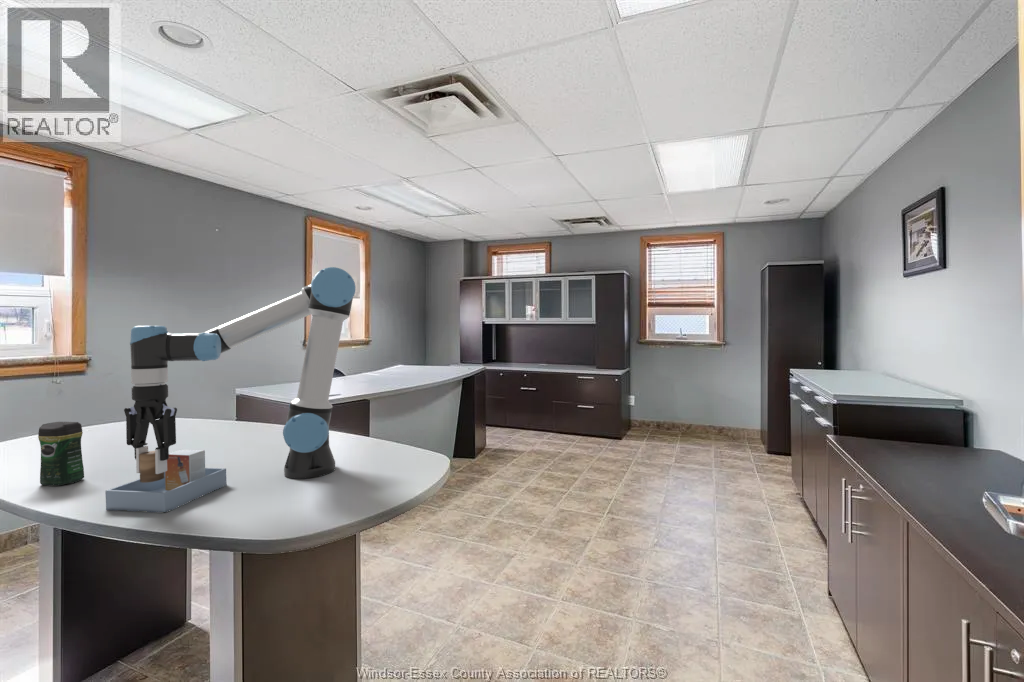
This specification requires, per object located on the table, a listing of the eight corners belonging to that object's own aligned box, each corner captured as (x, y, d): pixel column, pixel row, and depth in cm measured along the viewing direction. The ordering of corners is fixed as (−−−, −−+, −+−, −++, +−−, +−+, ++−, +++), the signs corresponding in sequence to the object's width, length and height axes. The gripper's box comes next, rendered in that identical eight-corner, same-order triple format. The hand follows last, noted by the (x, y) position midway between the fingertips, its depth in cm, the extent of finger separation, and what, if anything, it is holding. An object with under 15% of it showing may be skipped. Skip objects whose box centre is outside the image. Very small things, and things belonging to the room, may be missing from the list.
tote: (226, 485, 134) (226, 468, 133) (165, 513, 114) (164, 493, 113) (174, 483, 136) (174, 466, 136) (106, 509, 116) (105, 490, 116)
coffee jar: (90, 478, 141) (88, 419, 141) (62, 487, 133) (60, 424, 133) (62, 477, 142) (60, 419, 142) (33, 486, 134) (31, 424, 134)
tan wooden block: (151, 482, 117) (151, 456, 117) (134, 482, 117) (134, 455, 117) (168, 476, 122) (168, 450, 122) (152, 475, 122) (151, 450, 122)
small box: (164, 491, 128) (163, 454, 127) (182, 484, 133) (181, 448, 133) (189, 492, 126) (188, 455, 126) (206, 485, 132) (205, 449, 132)
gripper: (192, 383, 121) (194, 469, 122) (133, 382, 124) (135, 466, 124) (167, 386, 114) (169, 478, 115) (105, 385, 116) (108, 475, 117)
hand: (152, 471), depth 120 cm, fingers closed on tan wooden block, 5 cm apart
